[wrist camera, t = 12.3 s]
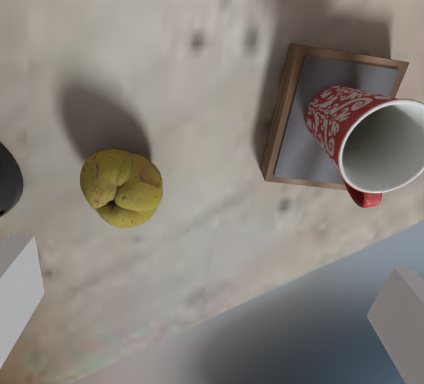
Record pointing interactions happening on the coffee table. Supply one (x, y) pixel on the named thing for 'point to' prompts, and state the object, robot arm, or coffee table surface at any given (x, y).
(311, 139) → the stand
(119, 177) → the fruit
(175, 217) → the coffee table surface
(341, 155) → the mug
